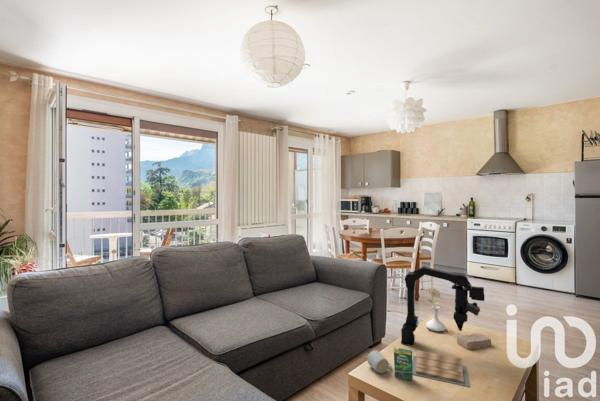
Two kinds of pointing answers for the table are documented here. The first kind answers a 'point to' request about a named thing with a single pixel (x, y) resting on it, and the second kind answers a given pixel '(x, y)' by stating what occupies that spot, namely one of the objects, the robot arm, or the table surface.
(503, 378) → the table surface
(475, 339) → the brick
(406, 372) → the coffee box
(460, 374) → the laid board
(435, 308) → the flower in vase
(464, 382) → the underlay
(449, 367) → the click plank
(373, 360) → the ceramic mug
